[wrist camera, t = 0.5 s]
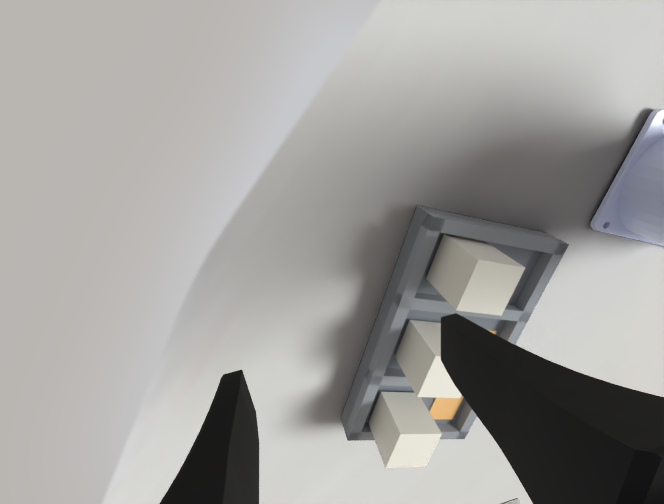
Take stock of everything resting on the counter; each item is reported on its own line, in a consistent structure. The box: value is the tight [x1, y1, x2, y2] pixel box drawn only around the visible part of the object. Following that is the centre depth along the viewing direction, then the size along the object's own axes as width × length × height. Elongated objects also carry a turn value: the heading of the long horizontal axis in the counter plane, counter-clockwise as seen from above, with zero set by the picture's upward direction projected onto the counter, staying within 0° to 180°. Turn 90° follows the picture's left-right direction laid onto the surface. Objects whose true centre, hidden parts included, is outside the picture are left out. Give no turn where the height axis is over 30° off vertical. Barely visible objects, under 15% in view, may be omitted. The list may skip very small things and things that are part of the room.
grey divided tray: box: [341, 205, 569, 440], centre depth 26 cm, size 10×17×2 cm, turn 165°
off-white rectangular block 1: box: [369, 392, 442, 468], centre depth 25 cm, size 3×3×4 cm
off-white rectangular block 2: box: [426, 234, 525, 316], centre depth 21 cm, size 3×3×4 cm
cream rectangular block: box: [395, 320, 462, 398], centre depth 23 cm, size 3×3×4 cm
